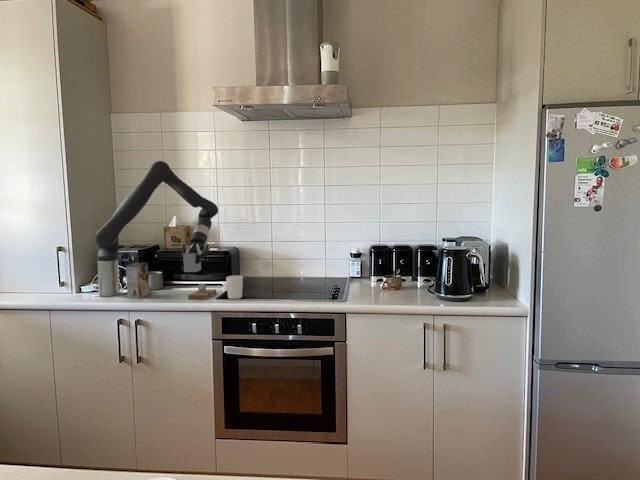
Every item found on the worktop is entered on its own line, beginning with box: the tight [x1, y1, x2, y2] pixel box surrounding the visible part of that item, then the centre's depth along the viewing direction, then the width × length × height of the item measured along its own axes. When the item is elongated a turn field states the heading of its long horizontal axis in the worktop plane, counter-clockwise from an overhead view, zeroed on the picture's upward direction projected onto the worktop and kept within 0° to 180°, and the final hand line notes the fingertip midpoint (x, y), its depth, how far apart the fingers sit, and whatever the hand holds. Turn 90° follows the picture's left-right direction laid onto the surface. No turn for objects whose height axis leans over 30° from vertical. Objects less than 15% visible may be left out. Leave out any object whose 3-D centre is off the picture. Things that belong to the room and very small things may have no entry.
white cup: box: [225, 275, 244, 300], centre depth 217 cm, size 8×8×10 cm
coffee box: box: [125, 262, 150, 300], centre depth 219 cm, size 9×6×16 cm
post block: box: [187, 283, 217, 301], centre depth 219 cm, size 14×8×6 cm, turn 170°
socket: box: [182, 251, 202, 273], centre depth 218 cm, size 6×6×9 cm
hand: (190, 262), depth 216 cm, fingers closed on socket, 6 cm apart
